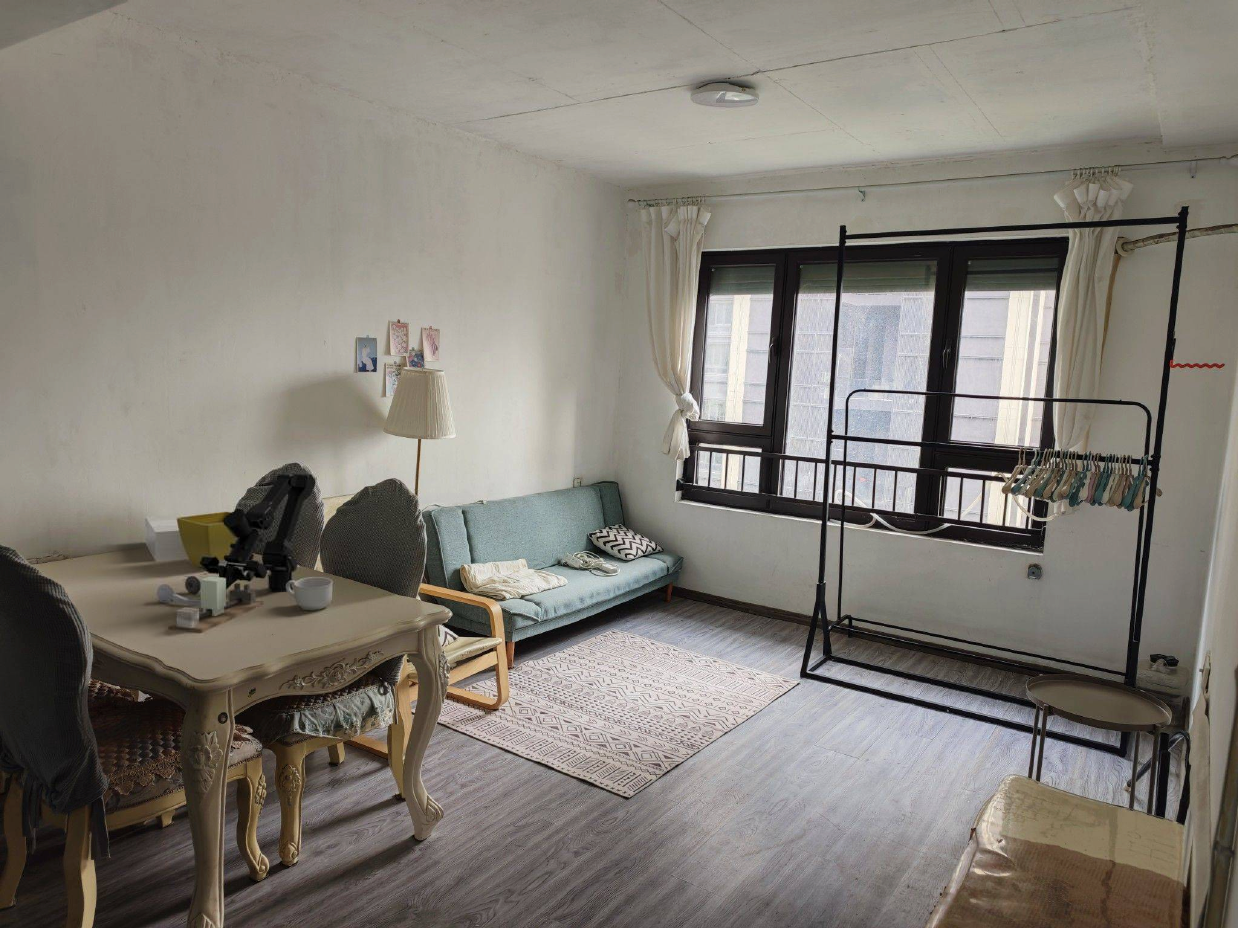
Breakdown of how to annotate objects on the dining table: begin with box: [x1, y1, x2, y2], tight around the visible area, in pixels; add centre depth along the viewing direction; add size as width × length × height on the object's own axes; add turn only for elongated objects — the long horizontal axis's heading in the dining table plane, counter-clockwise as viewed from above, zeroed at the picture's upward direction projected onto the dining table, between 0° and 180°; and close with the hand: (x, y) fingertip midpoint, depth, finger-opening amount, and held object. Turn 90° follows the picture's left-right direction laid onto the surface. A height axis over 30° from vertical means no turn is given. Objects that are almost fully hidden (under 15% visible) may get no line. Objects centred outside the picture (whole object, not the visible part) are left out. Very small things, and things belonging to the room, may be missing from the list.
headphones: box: [156, 575, 201, 607], centre depth 258 cm, size 17×6×20 cm
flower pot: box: [177, 511, 237, 569], centre depth 298 cm, size 19×19×17 cm
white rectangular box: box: [144, 514, 189, 562], centre depth 315 cm, size 32×11×11 cm, turn 35°
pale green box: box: [200, 576, 227, 616], centre depth 238 cm, size 4×5×10 cm
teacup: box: [286, 576, 333, 611], centre depth 254 cm, size 14×11×8 cm
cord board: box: [167, 582, 264, 634], centre depth 241 cm, size 28×10×6 cm, turn 170°
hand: (220, 592), depth 241 cm, fingers closed
